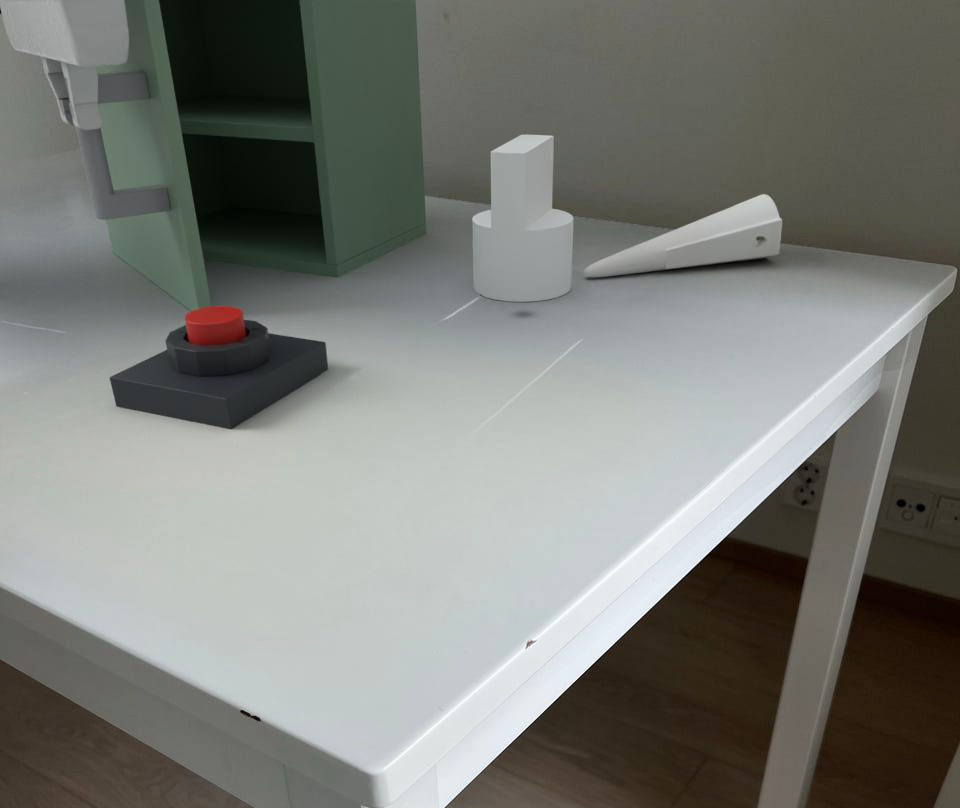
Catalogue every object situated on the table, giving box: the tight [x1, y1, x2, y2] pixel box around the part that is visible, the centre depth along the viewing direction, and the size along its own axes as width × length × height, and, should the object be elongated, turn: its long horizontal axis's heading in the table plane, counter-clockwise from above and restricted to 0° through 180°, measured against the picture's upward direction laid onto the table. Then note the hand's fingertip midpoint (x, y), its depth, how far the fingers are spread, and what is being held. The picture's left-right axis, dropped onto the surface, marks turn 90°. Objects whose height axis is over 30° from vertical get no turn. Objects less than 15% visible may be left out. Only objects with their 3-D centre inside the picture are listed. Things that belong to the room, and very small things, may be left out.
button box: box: [109, 319, 329, 430], centre depth 72 cm, size 12×10×4 cm
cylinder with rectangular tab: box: [471, 134, 575, 303], centre depth 89 cm, size 9×9×12 cm
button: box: [184, 305, 246, 345], centre depth 70 cm, size 4×4×2 cm
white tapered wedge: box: [583, 193, 783, 278], centre depth 96 cm, size 6×6×19 cm
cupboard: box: [159, 0, 427, 278], centre depth 100 cm, size 18×26×24 cm
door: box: [65, 0, 213, 312], centre depth 87 cm, size 7×26×24 cm, turn 33°
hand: (82, 126), depth 77 cm, fingers closed on door, 2 cm apart
